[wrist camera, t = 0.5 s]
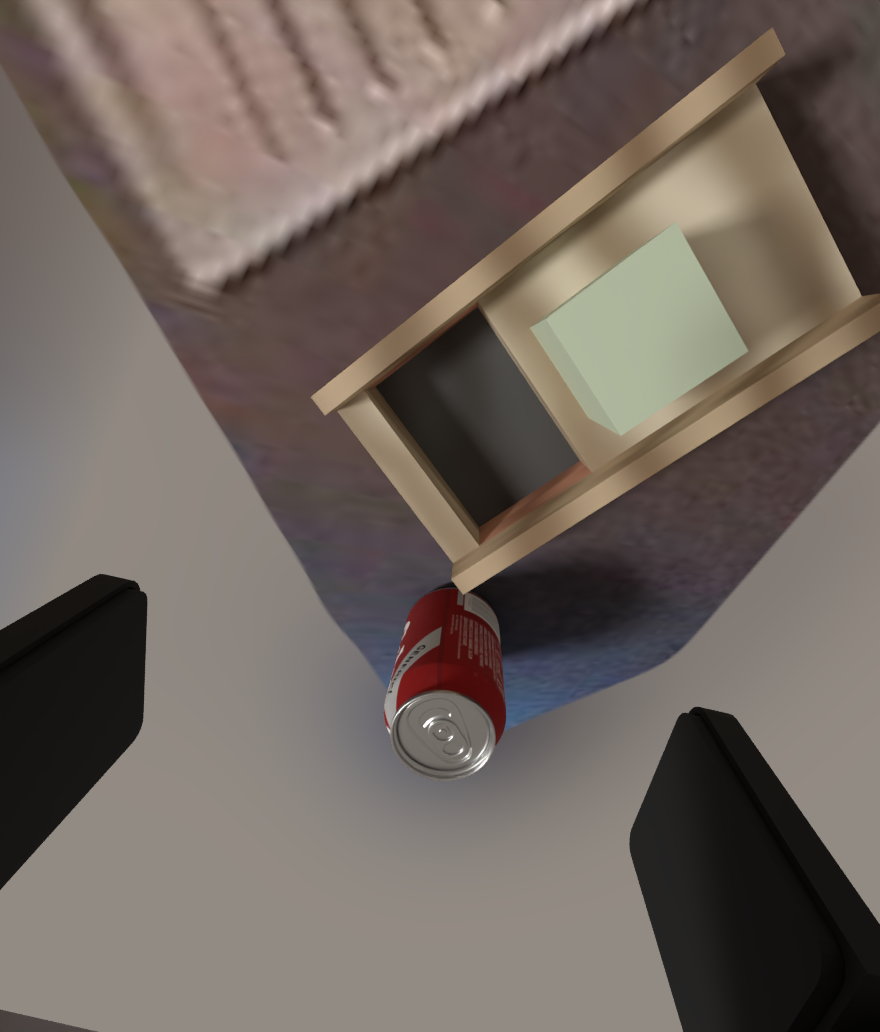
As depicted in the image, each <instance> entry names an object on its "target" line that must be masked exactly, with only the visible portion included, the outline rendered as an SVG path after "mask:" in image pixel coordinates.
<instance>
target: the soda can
mask: <svg viewBox="0 0 880 1032" xmlns="http://www.w3.org/2000/svg"><path fill="white" fill-rule="evenodd" d="M384 717H385V723H386V726H387V729H388V731H389V733H390V739H391V744H392V747H393V750H394V752H395V754H396V756H397V757H398V759H399V760H400V761H401V762H402V763H403V764H404V765H405V766H406V767H407V768H408V769H410V770H411V771H413V772H414V773H416V774H418V775H420V776H422V777H425V778H428V779H432V780H438V781H454V780H459V779H463V778H466V777H469V776H471V775H473V774H475V773H476V772H478V771H479V770H480V769H482V768H483V766H485V764H487V762H488V761H489V759H490V758H491V756H492V754H493V751H494V748H495V745H496V744H497V743H498V741H499V740H500V738H501V736H502V734H503V731H504V728H505V723H506V706H505V694H504V681H503V668H502V656H501V643H500V631H499V623H498V619H497V616H496V614H495V612H494V610H493V609H492V607H491V606H490V605H489V604H488V603H487V602H486V601H485V600H484V599H483V598H482V597H480V596H479V595H477V594H475V593H473V592H471V591H469V592H467V593H465V594H464V595H463V594H462V593H461V591H460V590H459V589H458V588H442V589H437V590H434V591H432V592H429V593H428V594H426V595H424V596H423V597H422V598H420V599H419V600H418V601H417V602H416V603H415V604H414V606H413V607H412V609H411V611H410V613H409V615H408V618H407V621H406V625H405V629H404V633H403V636H402V640H401V644H400V647H399V651H398V655H397V659H396V662H395V666H394V670H393V673H392V677H391V681H390V685H389V688H388V692H387V696H386V700H385V706H384Z"/></svg>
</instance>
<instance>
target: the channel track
mask: <svg viewBox="0 0 880 1032" xmlns="http://www.w3.org/2000/svg"><path fill="white" fill-rule="evenodd" d="M784 55H785V53H784V50H783V48H782V46H781V44H780V42H779V40H778V38H777V36H776V34H775V32H774V30H773V28H771V29H770V30H768V31H767V32H766V33H765V34H763V35H762V36H761V37H760V38H758V39H757V40H756V41H755V42H753V43H752V44H751V45H750V46H748V47H747V48H746V49H745V50H743V51H742V52H741V53H740V54H738V55H737V56H736V57H735V58H733V59H732V60H731V61H730V62H728V63H727V64H726V65H725V66H723V67H722V68H721V69H720V70H718V71H717V72H716V73H715V74H713V75H712V76H711V77H710V78H708V79H707V80H706V81H705V82H703V83H702V84H701V85H700V86H699V87H697V88H696V89H695V90H694V91H692V92H691V93H690V94H689V95H687V96H686V97H685V98H684V99H682V100H681V101H680V102H679V103H677V104H676V105H675V106H674V107H672V108H671V109H670V110H669V111H667V112H666V113H665V114H664V115H662V116H661V117H660V118H659V119H657V120H656V121H655V122H654V123H652V124H651V125H650V126H649V127H647V128H646V129H645V130H644V131H642V132H641V133H640V134H639V135H637V136H636V137H635V138H634V139H632V140H631V141H630V142H629V143H627V144H626V145H625V146H624V147H622V148H621V149H620V150H619V151H617V152H616V153H615V154H614V155H612V156H611V157H610V158H609V159H607V160H606V161H605V162H604V163H602V164H601V165H600V166H599V167H597V168H596V169H595V170H594V171H592V172H591V173H590V174H589V175H587V176H586V177H585V178H584V179H582V180H581V181H580V182H579V183H577V184H576V185H575V186H574V187H572V188H571V189H570V190H569V191H567V192H566V193H565V194H564V195H562V196H561V197H560V198H559V199H557V200H556V201H555V202H554V203H552V204H551V205H550V206H549V207H548V208H546V209H545V210H544V211H543V212H541V213H540V214H539V215H538V216H536V217H535V218H534V219H533V220H531V221H530V222H529V223H528V224H526V225H525V226H524V227H523V228H521V229H520V230H519V231H518V232H516V233H515V234H514V235H513V236H511V237H510V238H509V239H508V240H506V241H505V242H504V243H503V244H501V245H500V246H499V247H498V248H496V249H495V250H494V251H493V252H491V253H490V254H489V255H488V256H486V257H485V258H484V259H483V260H481V261H480V262H479V263H478V264H476V265H475V266H474V267H473V268H471V269H470V270H469V271H468V272H466V273H465V274H464V275H463V276H461V277H460V278H459V279H458V280H456V281H455V282H454V283H453V284H451V285H450V286H449V287H448V288H446V289H445V290H444V291H443V292H441V293H440V294H439V295H438V296H436V297H435V298H434V299H433V300H431V301H430V302H429V303H428V304H426V305H425V306H424V307H423V308H421V309H420V310H419V311H418V312H416V313H415V314H414V315H413V316H411V317H410V318H409V319H408V320H406V321H405V322H404V323H403V324H401V325H400V326H399V327H398V328H397V329H395V330H394V331H393V332H392V333H390V334H389V335H388V336H387V337H385V338H384V339H383V340H382V341H380V342H379V343H378V344H377V345H375V346H374V347H373V348H372V349H370V350H369V351H368V352H367V353H365V354H364V355H363V356H362V357H360V358H359V359H358V360H357V361H355V362H354V363H353V364H352V365H350V366H349V367H348V368H347V369H345V370H344V371H343V372H342V373H340V374H339V375H338V376H337V377H335V378H334V379H333V380H332V381H330V382H329V383H328V384H327V385H325V386H324V387H323V388H322V389H320V390H319V391H318V392H317V393H315V394H314V395H313V396H312V397H311V398H312V399H313V400H314V402H315V403H316V404H317V406H318V407H319V408H320V410H321V411H322V412H323V413H324V415H328V414H330V413H333V412H336V411H337V412H338V413H339V414H340V415H341V417H342V418H343V419H344V421H345V422H346V423H347V425H348V426H349V427H350V429H351V430H352V431H353V432H354V434H355V435H356V436H357V438H358V439H359V440H360V442H361V443H362V444H363V446H364V447H365V448H366V450H367V451H368V452H369V453H370V455H371V456H372V457H373V459H374V460H375V461H376V463H377V464H378V465H379V467H380V468H381V469H382V470H383V472H384V473H385V474H386V476H387V477H388V478H389V480H390V481H391V482H392V484H393V485H394V486H395V488H396V489H397V490H398V491H399V493H400V494H401V495H402V497H403V498H404V499H405V501H406V502H407V503H408V505H409V506H410V507H411V508H412V510H413V511H414V512H415V514H416V515H417V516H418V518H419V519H420V520H421V522H422V523H423V524H424V526H425V527H426V528H427V529H428V531H429V532H430V533H431V535H432V536H433V537H434V539H435V540H436V541H437V543H438V544H439V545H440V546H441V548H442V549H443V550H444V552H445V553H446V554H447V556H448V557H449V558H450V560H451V561H452V562H453V569H452V577H451V580H452V581H453V582H454V583H455V585H456V586H457V587H458V589H459V590H460V591H461V593H462V594H463V595H464V594H465V593H467V592H469V591H470V590H472V589H473V588H475V587H476V586H478V585H480V584H481V583H483V582H484V581H486V580H487V579H489V578H491V577H492V576H494V575H495V574H497V573H499V572H500V571H502V570H503V569H505V568H506V567H508V566H510V565H511V564H513V563H514V562H516V561H518V560H519V559H521V558H522V557H524V556H525V555H527V554H529V553H530V552H532V551H533V550H535V549H536V548H538V547H540V546H541V545H543V544H544V543H546V542H548V541H549V540H551V539H552V538H554V537H555V536H557V535H559V534H560V533H562V532H563V531H565V530H567V529H568V528H570V527H571V526H573V525H574V524H576V523H578V522H579V521H581V520H582V519H584V518H585V517H587V516H589V515H590V514H592V513H593V512H595V511H597V510H598V509H600V508H601V507H603V506H604V505H606V504H608V503H609V502H611V501H612V500H614V499H616V498H617V497H619V496H620V495H622V494H623V493H625V492H627V491H628V490H630V489H631V488H633V487H634V486H636V485H638V484H639V483H641V482H642V481H644V480H646V479H647V478H649V477H650V476H652V475H653V474H655V473H657V472H658V471H660V470H661V469H663V468H665V467H666V466H668V465H669V464H671V463H672V462H674V461H676V460H677V459H679V458H680V457H682V456H683V455H685V454H687V453H688V452H690V451H691V450H693V449H695V448H696V447H698V446H699V445H701V444H702V443H704V442H706V441H707V440H709V439H710V438H712V437H714V436H715V435H717V434H718V433H720V432H721V431H723V430H725V429H726V428H728V427H729V426H731V425H732V424H734V423H736V422H737V421H739V420H740V419H742V418H744V417H745V416H747V415H748V414H750V413H751V412H753V411H755V410H756V409H758V408H759V407H761V406H763V405H764V404H766V403H767V402H769V401H770V400H772V399H774V398H775V397H777V396H778V395H780V394H781V393H783V392H785V391H786V390H788V389H789V388H791V387H793V386H794V385H796V384H797V383H799V382H800V381H802V380H804V379H805V378H807V377H808V376H810V375H811V374H813V373H815V372H816V371H818V370H819V369H821V368H823V367H824V366H826V365H827V364H829V363H830V362H832V361H834V360H835V359H837V358H838V357H840V356H842V355H843V354H845V353H846V352H848V351H849V350H851V349H853V348H854V347H856V346H857V345H859V344H860V343H862V342H864V341H865V340H867V339H868V338H870V337H872V336H873V335H875V334H876V333H878V332H879V331H880V294H873V295H867V296H861V294H860V292H859V290H858V288H857V286H856V284H855V282H854V280H853V278H852V276H851V274H850V272H849V270H848V268H847V266H846V263H845V261H844V259H843V257H842V255H841V253H840V251H839V249H838V247H837V245H836V243H835V241H834V239H833V237H832V235H831V233H830V231H829V229H828V227H827V225H826V223H825V221H824V219H823V217H822V215H821V213H820V211H819V209H818V207H817V205H816V203H815V201H814V199H813V197H812V195H811V193H810V191H809V189H808V187H807V185H806V183H805V181H804V179H803V177H802V175H801V173H800V171H799V169H798V167H797V165H796V163H795V161H794V159H793V157H792V155H791V153H790V151H789V149H788V147H787V145H786V143H785V141H784V139H783V137H782V135H781V133H780V131H779V129H778V127H777V125H776V123H775V121H774V119H773V117H772V115H771V113H770V111H769V109H768V107H767V105H766V103H765V101H764V99H763V97H762V95H761V93H760V91H759V89H758V87H757V85H756V83H757V82H758V81H759V80H760V79H761V78H762V77H763V76H764V75H765V74H766V73H767V72H768V71H769V70H770V69H771V68H772V67H773V66H774V65H775V64H776V63H777V62H778V61H779V60H780V59H781V58H782V57H783V56H784ZM675 222H676V223H677V225H678V226H679V228H680V230H681V232H682V233H683V235H684V237H685V239H686V241H687V242H688V244H689V246H690V248H691V250H692V251H693V253H694V255H695V257H696V258H697V260H698V262H699V264H700V266H701V267H702V269H703V271H704V273H705V274H706V276H707V278H708V280H709V282H710V283H711V285H712V287H713V289H714V290H715V292H716V294H717V296H718V298H719V299H720V301H721V303H722V305H723V307H724V308H725V310H726V312H727V314H728V315H729V317H730V319H731V321H732V323H733V324H734V326H735V328H736V330H737V331H738V333H739V335H740V337H741V339H742V340H743V342H744V344H745V346H746V348H747V349H748V352H747V353H745V354H744V355H742V356H741V357H739V358H738V359H736V360H735V361H733V362H732V363H730V364H729V365H727V366H726V367H724V368H723V369H721V370H720V371H718V372H717V373H715V374H714V375H712V376H710V377H709V378H707V379H706V380H704V381H703V382H701V383H700V384H698V385H697V386H695V387H694V388H692V389H691V390H689V391H688V392H686V393H685V394H683V395H682V396H680V397H679V398H677V399H676V400H674V401H673V402H671V403H670V404H668V405H667V406H665V407H664V408H662V409H661V410H659V411H658V412H656V413H655V414H653V415H652V416H650V417H649V418H647V419H645V420H644V421H642V422H641V423H639V424H638V425H636V426H635V427H633V428H632V429H630V430H629V431H627V432H626V433H624V434H623V435H621V436H620V435H618V434H616V433H615V432H613V431H611V430H609V429H607V428H606V427H604V426H602V425H600V424H598V423H597V422H595V421H593V420H591V419H589V418H588V416H587V415H586V413H585V412H584V410H583V409H582V407H581V406H580V404H579V403H578V401H577V399H576V398H575V396H574V395H573V393H572V392H571V390H570V389H569V387H568V386H567V384H566V383H565V381H564V380H563V378H562V376H561V375H560V373H559V372H558V370H557V369H556V367H555V366H554V364H553V363H552V361H551V360H550V358H549V356H548V355H547V353H546V352H545V350H544V349H543V347H542V346H541V344H540V343H539V341H538V340H537V338H536V337H535V335H534V333H533V332H532V330H531V329H530V327H532V326H533V325H534V324H536V323H537V322H538V321H540V320H541V319H542V318H544V317H545V316H546V315H548V314H549V313H550V312H552V311H553V310H554V309H556V308H557V307H558V306H560V305H561V304H562V303H564V302H565V301H566V300H568V299H569V298H570V297H572V296H573V295H574V294H576V293H577V292H578V291H580V290H581V289H582V288H584V287H585V286H586V285H588V284H589V283H590V282H592V281H593V280H594V279H596V278H597V277H598V276H600V275H601V274H602V273H604V272H605V271H606V270H608V269H609V268H610V267H612V266H613V265H614V264H616V263H617V262H618V261H620V260H621V259H623V258H624V257H625V256H627V255H628V254H629V253H631V252H632V251H634V250H635V249H637V248H638V247H640V246H641V245H643V244H644V243H646V242H647V241H648V240H650V239H651V238H653V237H654V236H656V235H657V234H659V233H660V232H662V231H663V230H665V229H666V228H668V227H669V226H671V225H672V224H673V223H675Z"/></svg>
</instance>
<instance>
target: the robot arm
mask: <svg viewBox="0 0 880 1032" xmlns="http://www.w3.org/2000/svg"><path fill="white" fill-rule="evenodd" d="M146 626H147V596H146V594H145V593H144V592H141V591H140V588H139V585H138V583H136V582H135V581H131V580H127V579H123V578H118V577H114V576H109V575H105V574H99V575H96V576H94V577H92V578H90V579H89V580H87V581H85V582H83V583H82V584H80V585H78V586H76V587H75V588H73V589H71V590H70V591H68V592H66V593H64V594H63V595H61V596H59V597H57V598H55V599H54V600H52V601H50V602H48V603H47V604H45V605H44V606H42V607H40V608H38V609H37V610H35V611H33V612H31V613H29V614H28V615H26V616H24V617H22V618H21V619H19V620H17V621H15V622H14V623H12V624H10V625H9V626H7V627H5V628H3V629H1V630H0V890H1V888H2V887H3V886H4V885H5V884H6V883H7V882H8V881H9V879H10V878H11V877H12V876H13V875H14V874H15V873H16V872H17V871H18V870H19V868H20V867H21V866H22V865H23V864H24V863H25V862H26V861H27V860H28V858H29V857H30V856H31V855H32V854H33V853H34V852H35V851H36V849H37V848H38V847H39V846H40V845H41V844H42V843H43V842H44V841H45V839H46V838H47V837H48V836H49V835H50V834H51V833H52V832H53V831H54V830H55V828H56V827H57V826H58V825H59V824H60V823H61V822H62V821H63V819H64V818H65V817H66V816H67V815H68V814H69V813H70V812H71V810H72V809H73V808H74V807H75V806H76V805H77V804H78V803H79V802H80V801H81V799H82V798H83V797H84V796H85V795H86V794H87V793H88V792H89V790H90V789H91V788H92V787H93V786H94V785H95V784H96V783H97V782H98V781H99V779H100V778H101V777H102V776H103V775H104V774H105V773H106V772H107V770H108V769H109V768H110V767H111V766H112V765H113V764H114V763H115V762H116V760H117V759H118V758H119V757H120V756H121V755H122V754H123V753H124V752H125V750H126V749H127V748H128V747H129V746H130V745H131V744H132V742H133V741H134V740H135V739H136V737H137V735H138V734H139V731H140V729H141V726H142V723H143V712H144V682H145V654H146ZM630 853H631V857H632V860H633V864H634V867H635V871H636V874H637V877H638V880H639V884H640V887H641V891H642V894H643V897H644V901H645V904H646V908H647V911H648V914H649V918H650V921H651V924H652V928H653V931H654V934H655V938H656V941H657V945H658V948H659V951H660V955H661V958H662V961H663V965H664V968H665V972H666V974H667V978H668V981H669V985H670V988H671V992H672V995H673V998H674V1002H675V1005H676V1009H677V1012H678V1015H679V1019H680V1022H681V1025H682V1029H683V1032H880V924H879V923H878V921H877V920H876V918H875V917H874V916H873V914H872V913H871V911H870V910H869V908H868V907H867V905H866V904H865V903H864V901H863V900H862V899H861V897H860V895H859V894H858V892H857V891H856V890H855V888H854V887H853V885H852V884H851V882H850V881H849V880H848V878H847V877H846V875H845V874H844V872H843V871H842V870H841V868H840V867H839V865H838V864H837V862H836V861H835V859H834V858H833V857H832V855H831V854H830V852H829V851H828V849H827V848H826V847H825V845H824V844H823V842H822V841H821V840H820V838H819V837H818V835H817V834H816V832H815V831H814V830H813V828H812V827H811V825H810V824H809V822H808V821H807V819H806V818H805V817H804V815H803V814H802V812H801V811H800V809H799V808H798V807H797V805H796V804H795V802H794V801H793V799H792V798H791V797H790V795H789V794H788V792H787V791H786V789H785V788H784V787H783V785H782V784H781V782H780V781H779V779H778V778H777V776H776V775H775V774H774V772H773V771H772V769H771V768H770V766H769V765H768V764H767V762H766V761H765V759H764V758H763V756H762V755H761V753H760V752H759V750H758V749H757V748H756V746H755V745H754V743H753V742H752V741H751V739H750V738H749V736H748V735H747V733H746V732H745V730H744V729H743V728H742V726H741V725H740V723H739V722H738V720H737V719H736V718H735V717H734V716H733V715H731V714H728V713H723V712H719V711H715V710H710V709H705V708H701V707H694V708H693V709H691V711H690V712H689V713H682V714H681V715H680V716H679V717H678V719H677V721H676V724H675V726H674V729H673V731H672V733H671V736H670V738H669V740H668V743H667V745H666V748H665V750H664V752H663V755H662V757H661V760H660V762H659V765H658V767H657V769H656V772H655V774H654V776H653V779H652V782H651V784H650V786H649V788H648V791H647V793H646V796H645V798H644V801H643V803H642V805H641V808H640V810H639V812H638V815H637V817H636V820H635V822H634V824H633V827H632V829H631V833H630ZM0 1032H97V1031H92V1030H88V1029H84V1028H79V1027H74V1026H70V1025H66V1024H62V1023H57V1022H53V1021H48V1020H44V1019H39V1018H35V1017H31V1016H26V1015H22V1014H17V1013H13V1012H8V1011H4V1010H0Z"/></svg>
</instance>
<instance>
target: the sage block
mask: <svg viewBox="0 0 880 1032" xmlns="http://www.w3.org/2000/svg"><path fill="white" fill-rule="evenodd" d="M530 329H531V330H532V332H533V333H534V335H535V337H536V338H537V340H538V341H539V343H540V344H541V346H542V347H543V349H544V350H545V352H546V353H547V355H548V356H549V358H550V360H551V361H552V363H553V364H554V366H555V367H556V369H557V370H558V372H559V373H560V375H561V376H562V378H563V380H564V381H565V383H566V384H567V386H568V387H569V389H570V390H571V392H572V393H573V395H574V396H575V398H576V399H577V401H578V403H579V404H580V406H581V407H582V409H583V410H584V412H585V413H586V415H587V416H588V418H589V419H591V420H593V421H595V422H597V423H598V424H600V425H602V426H604V427H606V428H607V429H609V430H611V431H613V432H615V433H616V434H618V435H620V436H621V435H623V434H624V433H626V432H627V431H629V430H630V429H632V428H633V427H635V426H636V425H638V424H639V423H641V422H642V421H644V420H645V419H647V418H649V417H650V416H652V415H653V414H655V413H656V412H658V411H659V410H661V409H662V408H664V407H665V406H667V405H668V404H670V403H671V402H673V401H674V400H676V399H677V398H679V397H680V396H682V395H683V394H685V393H686V392H688V391H689V390H691V389H692V388H694V387H695V386H697V385H698V384H700V383H701V382H703V381H704V380H706V379H707V378H709V377H710V376H712V375H714V374H715V373H717V372H718V371H720V370H721V369H723V368H724V367H726V366H727V365H729V364H730V363H732V362H733V361H735V360H736V359H738V358H739V357H741V356H742V355H744V354H745V353H747V352H748V349H747V348H746V346H745V344H744V342H743V340H742V339H741V337H740V335H739V333H738V331H737V330H736V328H735V326H734V324H733V323H732V321H731V319H730V317H729V315H728V314H727V312H726V310H725V308H724V307H723V305H722V303H721V301H720V299H719V298H718V296H717V294H716V292H715V290H714V289H713V287H712V285H711V283H710V282H709V280H708V278H707V276H706V274H705V273H704V271H703V269H702V267H701V266H700V264H699V262H698V260H697V258H696V257H695V255H694V253H693V251H692V250H691V248H690V246H689V244H688V242H687V241H686V239H685V237H684V235H683V233H682V232H681V230H680V228H679V226H678V225H677V223H676V222H675V223H673V224H672V225H671V226H669V227H668V228H666V229H665V230H663V231H662V232H660V233H659V234H657V235H656V236H654V237H653V238H651V239H650V240H648V241H647V242H646V243H644V244H643V245H641V246H640V247H638V248H637V249H635V250H634V251H632V252H631V253H629V254H628V255H627V256H625V257H624V258H623V259H621V260H620V261H618V262H617V263H616V264H614V265H613V266H612V267H610V268H609V269H608V270H606V271H605V272H604V273H602V274H601V275H600V276H598V277H597V278H596V279H594V280H593V281H592V282H590V283H589V284H588V285H586V286H585V287H584V288H582V289H581V290H580V291H578V292H577V293H576V294H574V295H573V296H572V297H570V298H569V299H568V300H566V301H565V302H564V303H562V304H561V305H560V306H558V307H557V308H556V309H554V310H553V311H552V312H550V313H549V314H548V315H546V316H545V317H544V318H542V319H541V320H540V321H538V322H537V323H536V324H534V325H533V326H532V327H530Z"/></svg>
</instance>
